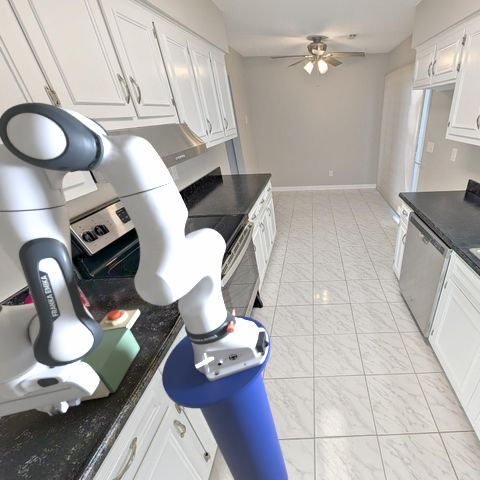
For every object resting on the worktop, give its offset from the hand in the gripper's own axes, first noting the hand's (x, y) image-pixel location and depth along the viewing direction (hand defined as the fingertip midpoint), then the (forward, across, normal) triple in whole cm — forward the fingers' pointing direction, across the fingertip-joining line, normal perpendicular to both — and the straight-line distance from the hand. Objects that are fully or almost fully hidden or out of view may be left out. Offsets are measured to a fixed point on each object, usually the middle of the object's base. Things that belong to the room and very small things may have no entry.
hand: (60, 411), depth 61 cm
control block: (+6, -4, +36) cm, 36 cm away
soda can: (+6, -24, +48) cm, 54 cm away
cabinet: (+6, +1, +14) cm, 15 cm away
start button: (+2, -4, +36) cm, 36 cm away
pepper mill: (+6, -22, +36) cm, 43 cm away
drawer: (+5, +1, +10) cm, 11 cm away
